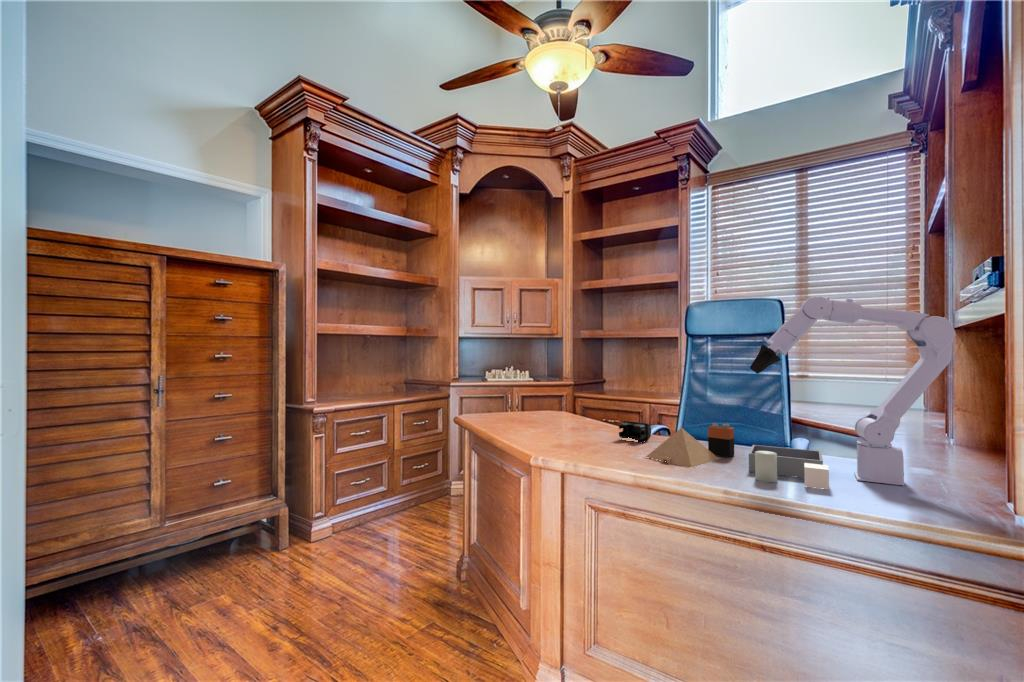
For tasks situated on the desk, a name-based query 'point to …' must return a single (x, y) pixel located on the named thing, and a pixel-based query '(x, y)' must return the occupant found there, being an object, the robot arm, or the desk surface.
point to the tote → (788, 459)
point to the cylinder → (766, 466)
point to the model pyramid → (683, 450)
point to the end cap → (635, 431)
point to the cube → (816, 475)
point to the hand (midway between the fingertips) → (753, 371)
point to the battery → (721, 440)
